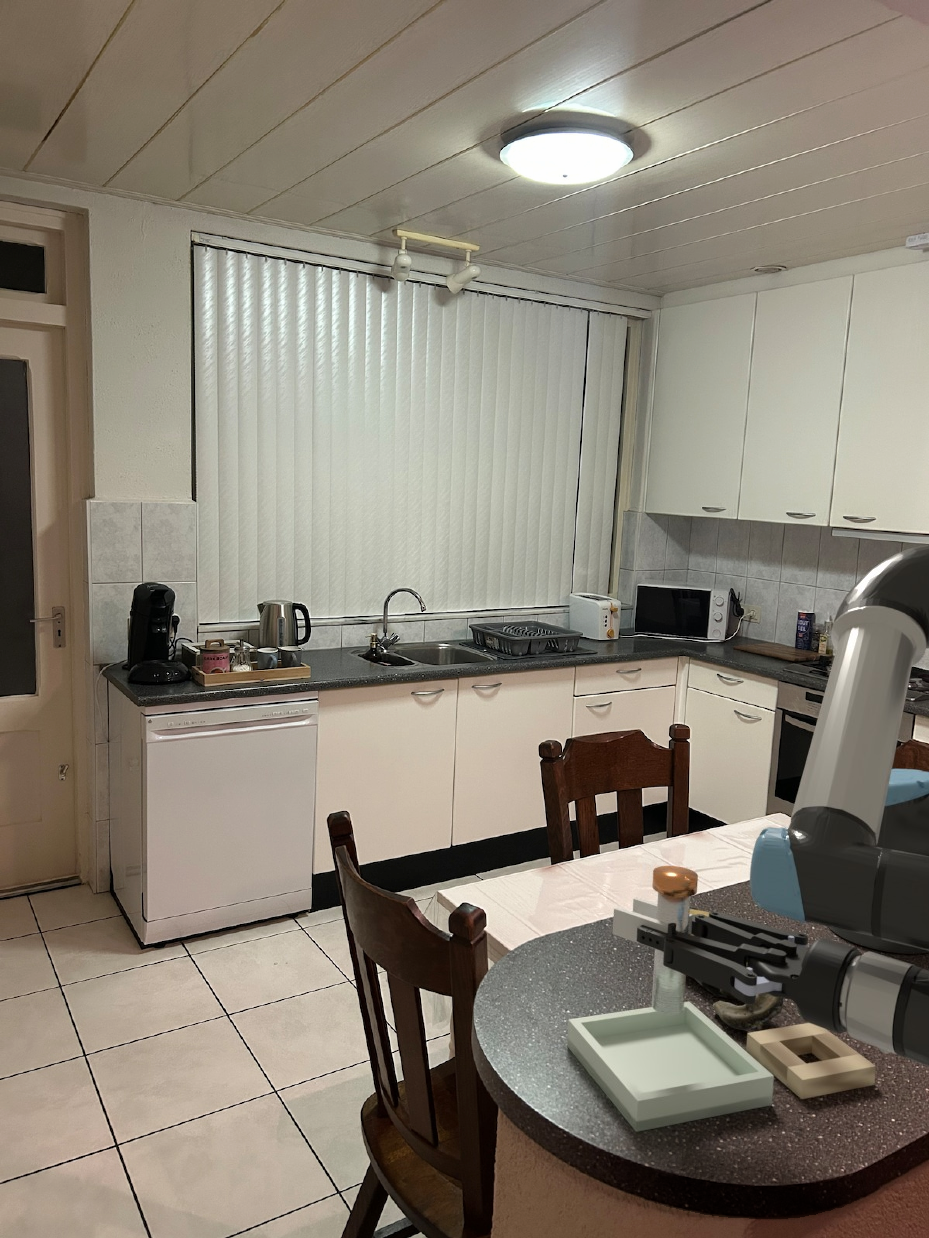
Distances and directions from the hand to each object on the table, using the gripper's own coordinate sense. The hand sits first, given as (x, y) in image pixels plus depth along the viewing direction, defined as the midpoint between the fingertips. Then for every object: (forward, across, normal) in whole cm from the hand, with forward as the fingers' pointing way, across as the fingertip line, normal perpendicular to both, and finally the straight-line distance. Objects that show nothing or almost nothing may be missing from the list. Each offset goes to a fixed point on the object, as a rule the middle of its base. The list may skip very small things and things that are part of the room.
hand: (625, 915), depth 97 cm
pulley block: (0, +24, -16) cm, 29 cm away
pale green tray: (-5, 0, -15) cm, 16 cm away
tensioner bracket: (-16, +12, -15) cm, 25 cm away
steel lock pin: (-5, 0, -8) cm, 10 cm away
